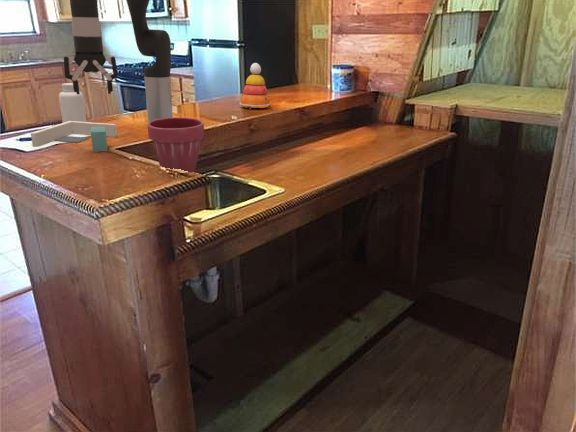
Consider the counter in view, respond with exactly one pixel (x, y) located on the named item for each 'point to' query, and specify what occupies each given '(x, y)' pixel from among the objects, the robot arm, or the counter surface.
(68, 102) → the pill bottle
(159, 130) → the plant pot
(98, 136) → the teal block
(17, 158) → the counter surface
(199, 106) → the counter surface
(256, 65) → the stacking toy
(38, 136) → the beige l-shaped wall
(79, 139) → the pad
